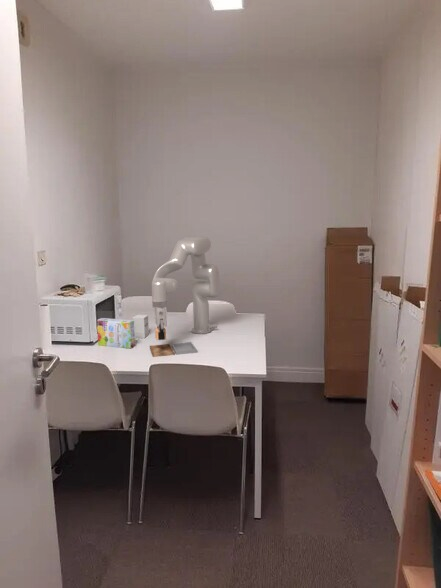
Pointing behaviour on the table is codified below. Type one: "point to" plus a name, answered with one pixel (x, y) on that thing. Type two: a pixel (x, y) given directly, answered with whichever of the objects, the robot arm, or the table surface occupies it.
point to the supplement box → (141, 326)
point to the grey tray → (184, 348)
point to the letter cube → (157, 333)
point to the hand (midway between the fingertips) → (160, 337)
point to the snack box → (116, 332)
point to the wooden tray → (161, 350)
